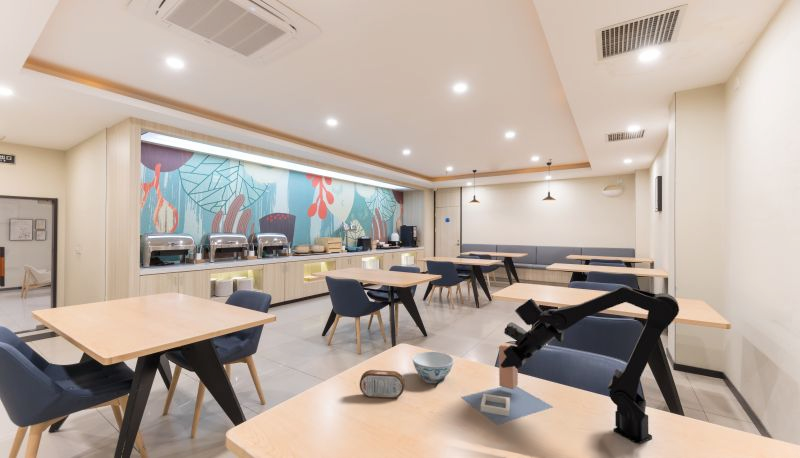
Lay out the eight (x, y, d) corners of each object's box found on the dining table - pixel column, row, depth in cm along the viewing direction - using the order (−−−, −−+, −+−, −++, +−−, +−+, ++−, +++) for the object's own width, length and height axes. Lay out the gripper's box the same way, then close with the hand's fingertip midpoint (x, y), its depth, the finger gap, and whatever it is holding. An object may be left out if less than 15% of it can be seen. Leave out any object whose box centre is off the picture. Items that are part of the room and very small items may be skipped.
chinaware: (405, 375, 126) (405, 355, 126) (439, 368, 132) (439, 349, 132) (425, 392, 112) (425, 369, 112) (461, 383, 118) (461, 362, 119)
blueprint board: (553, 410, 100) (553, 406, 100) (497, 429, 91) (497, 424, 91) (512, 387, 116) (512, 383, 116) (460, 400, 106) (460, 397, 106)
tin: (404, 395, 110) (404, 370, 110) (404, 400, 107) (404, 374, 107) (360, 393, 111) (360, 368, 112) (358, 398, 108) (358, 372, 108)
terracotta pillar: (517, 384, 109) (517, 345, 110) (513, 389, 106) (512, 349, 106) (504, 380, 112) (504, 342, 112) (499, 385, 109) (499, 346, 109)
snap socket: (509, 402, 103) (509, 397, 103) (509, 416, 95) (508, 410, 95) (483, 398, 105) (483, 393, 105) (480, 411, 98) (480, 405, 98)
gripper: (528, 311, 114) (498, 337, 121) (509, 322, 100) (476, 351, 106) (553, 338, 109) (520, 363, 116) (537, 354, 95) (500, 382, 101)
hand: (504, 364), depth 110 cm, fingers closed on terracotta pillar, 4 cm apart
